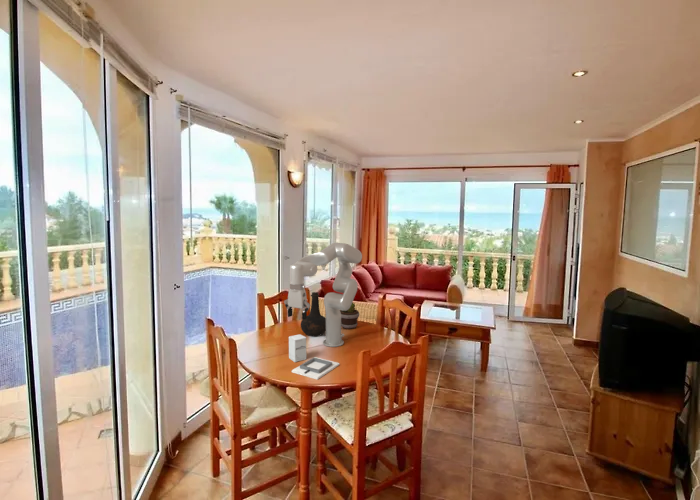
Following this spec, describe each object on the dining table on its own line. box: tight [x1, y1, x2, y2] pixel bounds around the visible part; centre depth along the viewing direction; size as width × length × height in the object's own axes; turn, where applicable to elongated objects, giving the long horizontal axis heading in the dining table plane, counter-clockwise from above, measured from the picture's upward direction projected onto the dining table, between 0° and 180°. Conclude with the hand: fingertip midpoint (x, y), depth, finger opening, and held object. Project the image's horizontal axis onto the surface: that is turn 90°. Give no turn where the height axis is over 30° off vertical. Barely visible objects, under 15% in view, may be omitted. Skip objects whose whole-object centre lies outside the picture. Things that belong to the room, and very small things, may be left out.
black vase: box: [300, 291, 326, 337], centre depth 248 cm, size 18×18×28 cm
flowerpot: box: [340, 300, 360, 330], centre depth 263 cm, size 14×15×20 cm
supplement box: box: [288, 333, 307, 363], centre depth 208 cm, size 7×7×13 cm
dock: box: [291, 356, 340, 380], centre depth 196 cm, size 20×16×2 cm
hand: (297, 317), depth 206 cm, fingers open, 9 cm apart
